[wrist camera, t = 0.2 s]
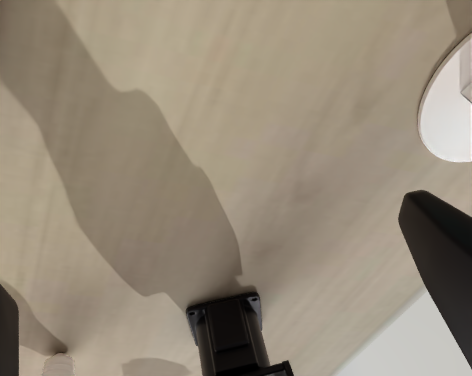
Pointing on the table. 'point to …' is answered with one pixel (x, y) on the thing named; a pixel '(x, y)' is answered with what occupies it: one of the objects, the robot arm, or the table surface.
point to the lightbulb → (59, 366)
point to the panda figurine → (449, 107)
